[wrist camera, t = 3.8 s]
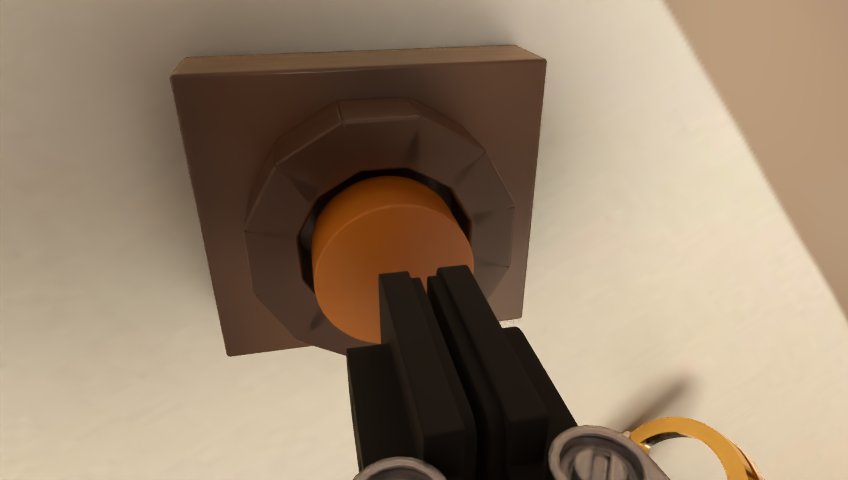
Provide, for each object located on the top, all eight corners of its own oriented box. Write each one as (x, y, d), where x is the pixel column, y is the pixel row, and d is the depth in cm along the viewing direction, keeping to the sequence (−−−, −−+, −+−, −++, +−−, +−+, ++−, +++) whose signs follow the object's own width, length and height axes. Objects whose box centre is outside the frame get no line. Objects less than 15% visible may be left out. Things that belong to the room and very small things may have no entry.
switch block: (232, 314, 18) (220, 402, 15) (183, 57, 15) (151, 94, 11) (499, 282, 20) (545, 355, 17) (517, 44, 16) (580, 73, 13)
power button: (317, 311, 15) (321, 354, 13) (303, 181, 13) (306, 213, 11) (453, 295, 15) (471, 334, 14) (456, 169, 14) (478, 198, 12)
